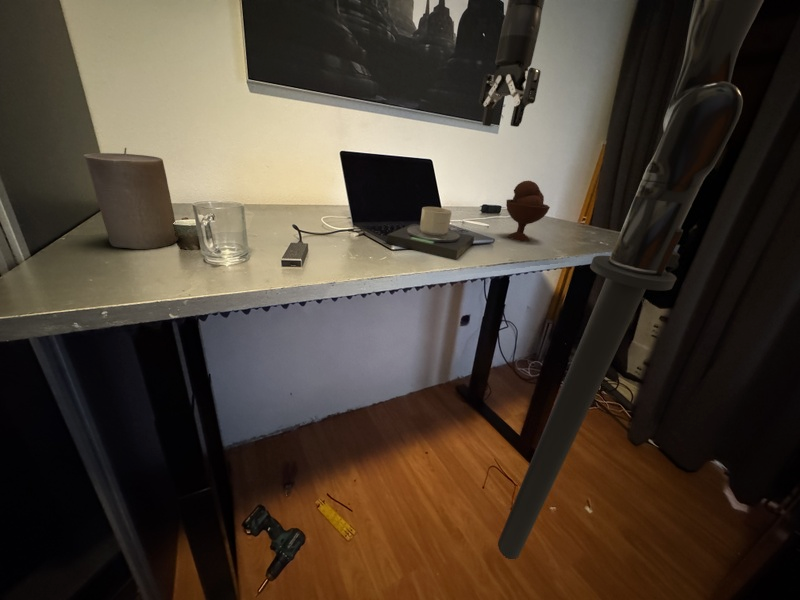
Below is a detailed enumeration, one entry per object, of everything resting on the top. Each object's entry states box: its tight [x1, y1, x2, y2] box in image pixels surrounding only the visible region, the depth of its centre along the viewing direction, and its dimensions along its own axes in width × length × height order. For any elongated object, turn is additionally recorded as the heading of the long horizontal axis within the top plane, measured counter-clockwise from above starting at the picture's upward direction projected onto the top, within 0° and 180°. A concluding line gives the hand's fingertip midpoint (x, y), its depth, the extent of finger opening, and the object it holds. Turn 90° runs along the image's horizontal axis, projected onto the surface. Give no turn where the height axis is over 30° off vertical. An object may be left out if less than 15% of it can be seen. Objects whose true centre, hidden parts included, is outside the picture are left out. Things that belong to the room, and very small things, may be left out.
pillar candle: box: [83, 147, 179, 250], centre depth 54 cm, size 10×10×15 cm
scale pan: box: [407, 224, 460, 242], centre depth 74 cm, size 12×12×1 cm
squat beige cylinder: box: [419, 206, 453, 235], centre depth 73 cm, size 6×6×5 cm
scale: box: [386, 223, 475, 260], centre depth 75 cm, size 16×15×2 cm
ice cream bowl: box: [505, 180, 551, 242], centre depth 86 cm, size 11×11×15 cm
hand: (499, 125), depth 75 cm, fingers open, 8 cm apart
